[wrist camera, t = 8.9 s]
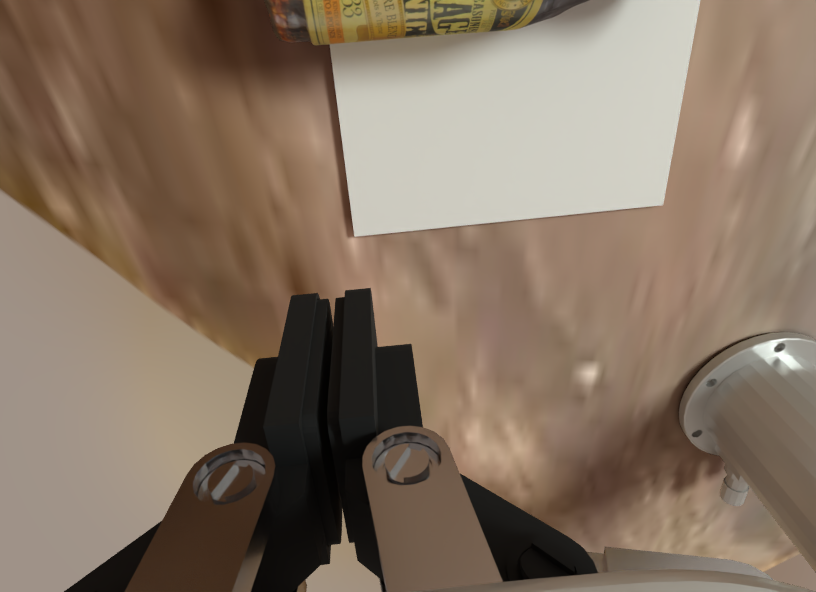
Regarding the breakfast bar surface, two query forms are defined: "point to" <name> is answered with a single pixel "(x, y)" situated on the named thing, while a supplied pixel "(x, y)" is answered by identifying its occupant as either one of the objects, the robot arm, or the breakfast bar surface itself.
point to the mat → (514, 117)
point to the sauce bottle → (402, 18)
